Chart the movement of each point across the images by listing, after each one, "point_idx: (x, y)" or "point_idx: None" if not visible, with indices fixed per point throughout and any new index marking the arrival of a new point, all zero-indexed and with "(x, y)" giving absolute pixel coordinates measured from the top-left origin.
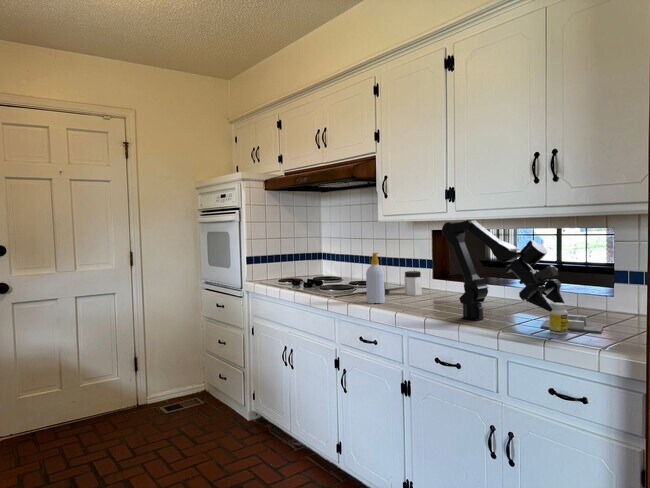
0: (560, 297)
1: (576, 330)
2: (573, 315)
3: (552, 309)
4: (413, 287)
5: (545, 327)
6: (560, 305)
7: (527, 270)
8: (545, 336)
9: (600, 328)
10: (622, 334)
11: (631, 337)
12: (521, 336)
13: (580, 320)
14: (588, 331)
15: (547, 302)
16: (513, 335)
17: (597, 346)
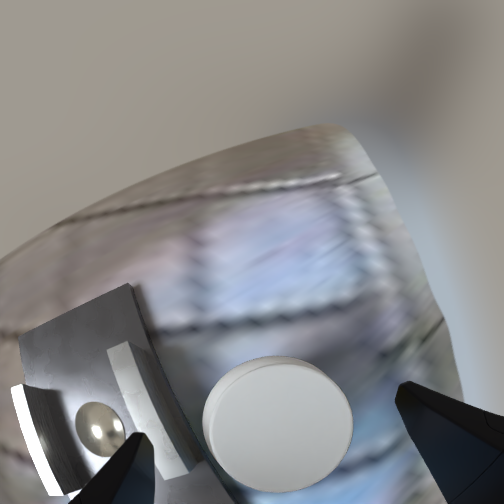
0: (106, 500)
1: (164, 376)
2: (31, 441)
3: (402, 383)
4: None
5: (234, 501)
6: (326, 376)
7: None
8: (379, 391)
9: (80, 310)
10: (96, 240)
11: (123, 206)
12: None
13: (40, 409)
14: (144, 328)
15: (453, 415)
16: None
17: (329, 199)
